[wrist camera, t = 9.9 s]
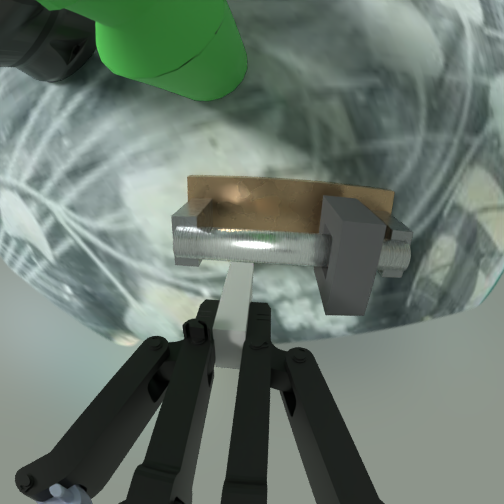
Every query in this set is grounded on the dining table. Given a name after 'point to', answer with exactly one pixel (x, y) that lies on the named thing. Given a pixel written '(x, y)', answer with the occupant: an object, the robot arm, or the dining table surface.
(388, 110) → the dining table surface
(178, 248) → the pipe stand
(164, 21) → the bottle
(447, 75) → the dining table surface
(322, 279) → the grey sliding block
